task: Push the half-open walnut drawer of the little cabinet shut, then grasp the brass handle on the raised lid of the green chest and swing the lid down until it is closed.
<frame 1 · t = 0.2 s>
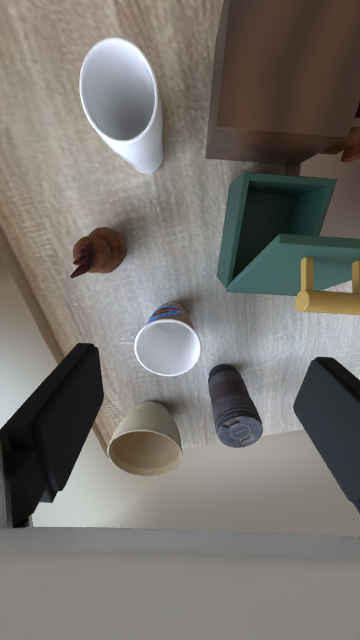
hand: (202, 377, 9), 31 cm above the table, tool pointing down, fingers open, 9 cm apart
lid: (294, 295, 23), point 17 cm above the table, hinge at 60.0°
camera lens: (223, 374, 48), on the table
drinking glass: (146, 153, 31), on the table
coffee cup: (171, 317, 42), on the table
wooden figurine: (113, 248, 36), on the table
chest: (255, 236, 35), on the table
drawer: (346, 90, 24), point 5 cm above the table, slide at 6.0 cm
cabinet: (260, 109, 28), on the table
planter bowl: (151, 413, 54), on the table
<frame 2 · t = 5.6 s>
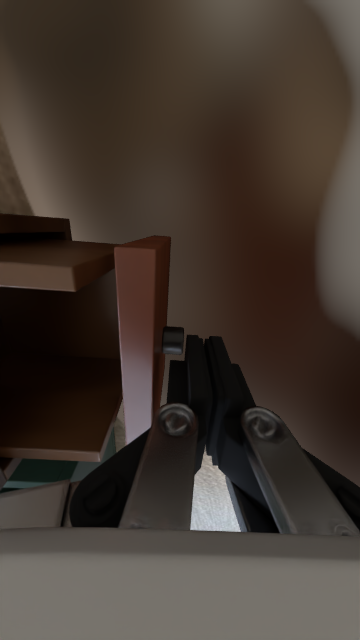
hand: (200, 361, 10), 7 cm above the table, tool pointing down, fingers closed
chest: (64, 434, 23), on the table
drawer: (60, 333, 12), point 5 cm above the table, slide at 5.9 cm, touching gripper
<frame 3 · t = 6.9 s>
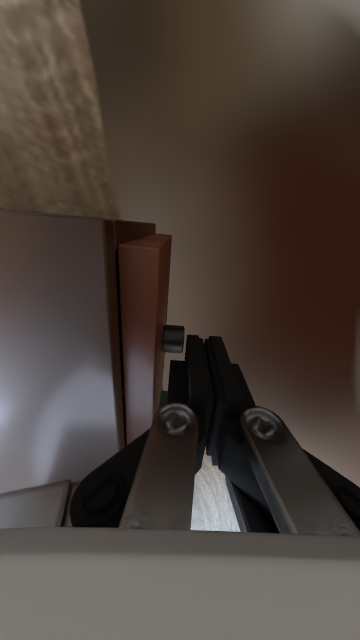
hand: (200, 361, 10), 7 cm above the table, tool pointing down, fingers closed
drawer: (60, 330, 12), point 5 cm above the table, slide at 0.0 cm, touching cabinet, gripper
cabinet: (66, 298, 16), on the table
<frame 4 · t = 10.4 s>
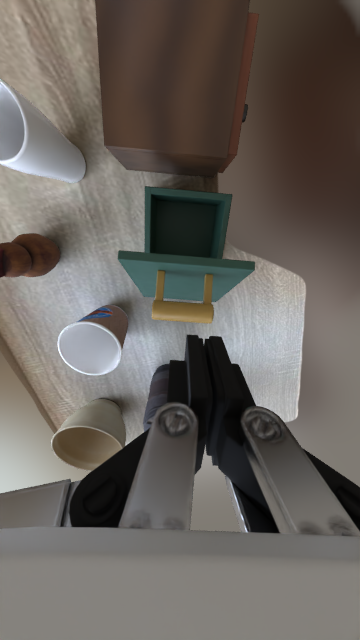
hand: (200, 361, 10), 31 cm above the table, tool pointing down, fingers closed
lid: (181, 302, 24), point 17 cm above the table, hinge at 60.0°
camera lens: (168, 374, 50), on the table
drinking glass: (70, 164, 32), on the table
coffee cup: (112, 319, 44), on the table
wooden figurine: (49, 252, 38), on the table
chest: (183, 244, 37), on the table
drawer: (190, 107, 25), point 5 cm above the table, slide at 0.0 cm, touching cabinet
cabinet: (172, 124, 30), on the table
planter bowl: (104, 410, 56), on the table
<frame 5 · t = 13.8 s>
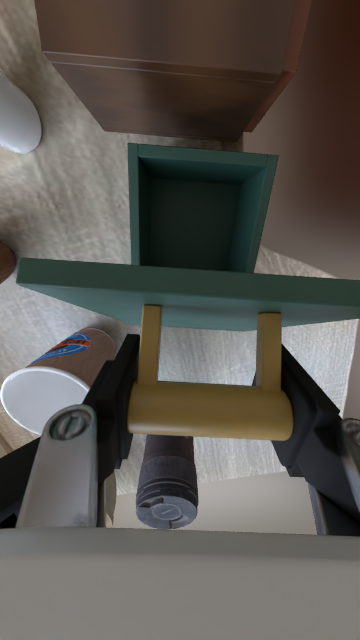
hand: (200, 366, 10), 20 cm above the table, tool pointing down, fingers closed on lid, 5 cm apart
lid: (194, 350, 13), point 17 cm above the table, hinge at 60.0°, touching gripper
camera lens: (171, 412, 39), on the table
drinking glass: (19, 124, 21), on the table
coffee cup: (95, 346, 33), on the table
wooden figurine: (1, 258, 27), on the table
chest: (190, 243, 26), on the table
cabinet: (174, 54, 19), on the table
planter bowl: (90, 454, 44), on the table
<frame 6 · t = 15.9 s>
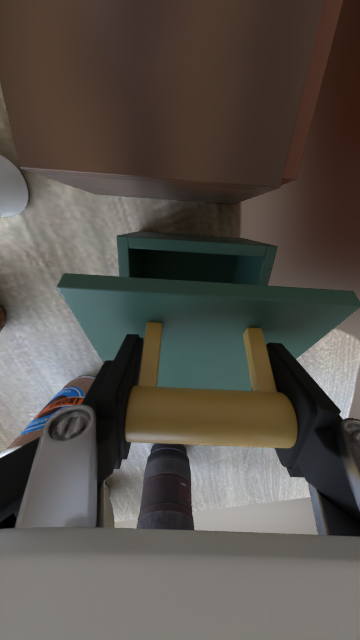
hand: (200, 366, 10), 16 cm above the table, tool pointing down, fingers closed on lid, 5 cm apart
lid: (191, 401, 13), point 14 cm above the table, hinge at 29.0°, touching gripper
camera lens: (169, 449, 38), on the table
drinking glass: (5, 187, 20), on the table
coffee cup: (90, 391, 32), on the table
chest: (186, 298, 25), on the table
drawer: (198, 85, 13), point 5 cm above the table, slide at 0.0 cm, touching cabinet
cabinet: (167, 120, 18), on the table
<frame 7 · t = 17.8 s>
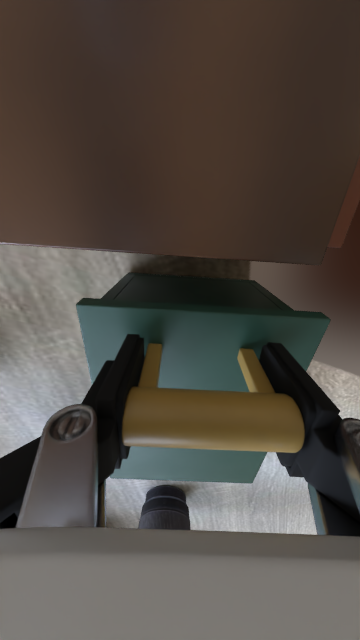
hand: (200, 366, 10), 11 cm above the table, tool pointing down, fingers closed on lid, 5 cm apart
lid: (191, 452, 11), point 11 cm above the table, hinge at 3.3°, touching gripper
camera lens: (166, 494, 35), on the table
chest: (186, 344, 22), on the table
drawer: (201, 110, 10), point 5 cm above the table, slide at 0.0 cm, touching cabinet
cabinet: (161, 145, 14), on the table
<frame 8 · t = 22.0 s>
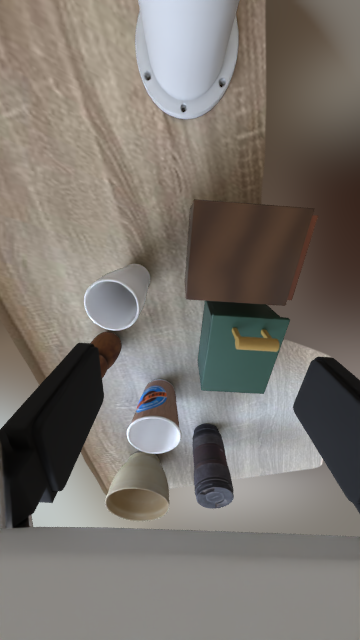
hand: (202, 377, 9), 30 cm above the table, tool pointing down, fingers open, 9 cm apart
lid: (244, 366, 32), point 11 cm above the table, hinge at 2.8°
camera lens: (206, 431, 55), on the table
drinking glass: (136, 277, 38), on the table
coffee cup: (160, 389, 49), on the table
wooden figurine: (110, 340, 43), on the table
chest: (228, 333, 42), on the table
drawer: (249, 254, 31), point 5 cm above the table, slide at 0.0 cm, touching cabinet
cabinet: (227, 249, 36), on the table
planter bowl: (144, 460, 61), on the table
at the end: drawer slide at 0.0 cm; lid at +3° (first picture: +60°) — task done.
